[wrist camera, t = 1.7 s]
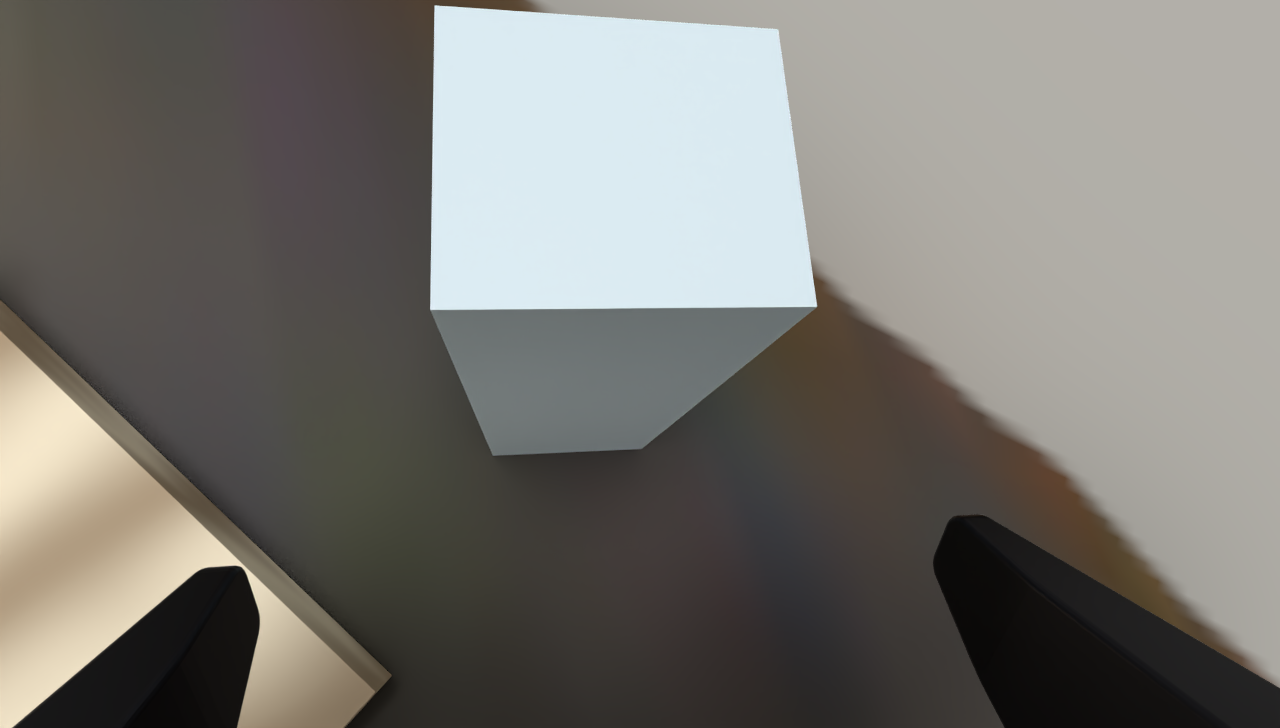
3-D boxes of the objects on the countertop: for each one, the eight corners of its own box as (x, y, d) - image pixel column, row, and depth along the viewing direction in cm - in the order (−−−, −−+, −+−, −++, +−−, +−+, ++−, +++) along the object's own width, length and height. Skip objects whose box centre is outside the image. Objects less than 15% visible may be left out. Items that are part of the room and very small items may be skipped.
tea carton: (641, 448, 20) (816, 306, 8) (492, 455, 20) (430, 309, 7) (632, 318, 21) (775, 13, 9) (491, 320, 21) (434, -12, 8)
